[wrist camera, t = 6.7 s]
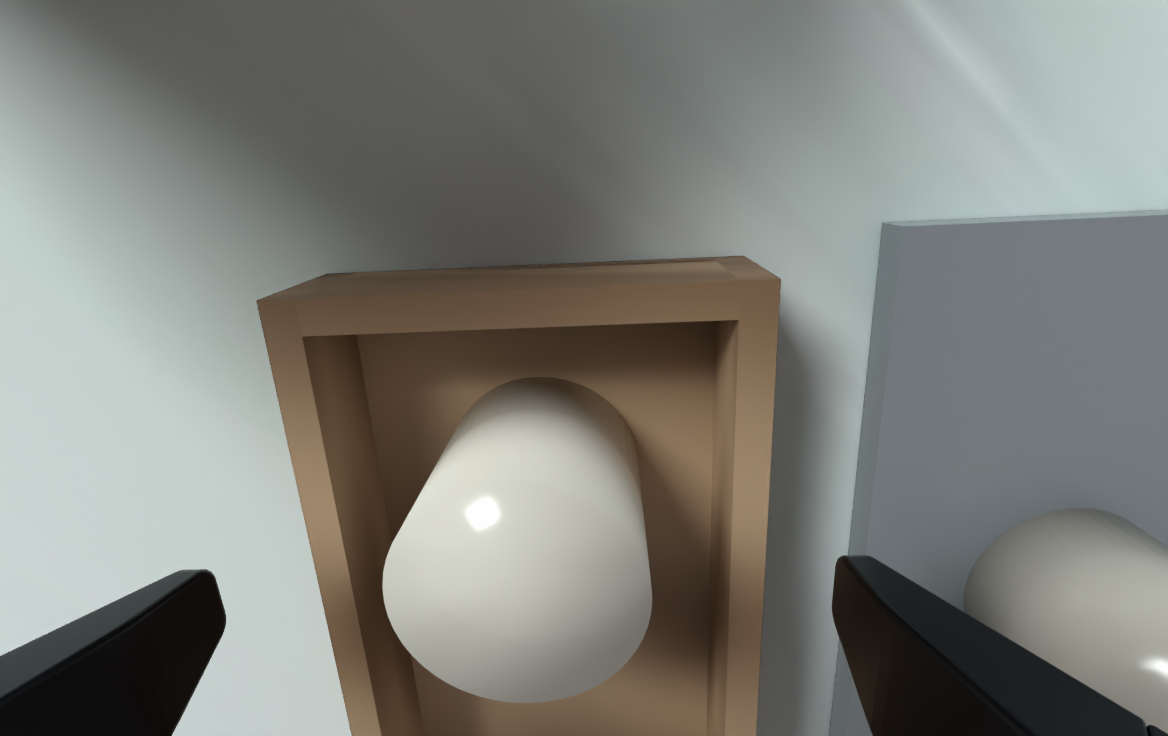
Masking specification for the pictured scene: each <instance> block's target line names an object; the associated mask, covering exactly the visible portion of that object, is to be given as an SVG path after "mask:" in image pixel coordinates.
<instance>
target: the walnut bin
mask: <svg viewBox="0 0 1168 736" xmlns="http://www.w3.org/2000/svg"><path fill="white" fill-rule="evenodd" d="M780 285H781V279H780V278H778V277H777V276H775V275H774V274H772V273H770V272H769V271H767V270H766V269H764V268H762V267H761V266H759V265H758V264H756V263H754V262H753V261H751V260H750V259H748V258H746V257H745V256H730V257H707V258H683V259H660V260H637V261H614V262H590V263H567V264H544V265H521V266H497V267H474V268H451V269H428V270H404V271H381V272H358V273H335V274H325V275H322V276H320V277H317V278H314V279H312V280H309V281H307V282H304V283H301V284H299V285H296V286H293V287H291V288H288V289H286V290H283V291H280V292H278V293H275V294H272V295H270V296H267V297H265V298H262V299H259V300H257V305H258V310H259V315H260V319H261V324H262V328H263V333H264V337H265V342H266V346H267V351H268V356H269V360H270V365H271V369H272V374H273V378H274V383H275V387H276V392H277V397H278V401H279V406H280V410H281V415H282V419H283V424H284V429H285V433H286V438H287V442H288V447H289V451H290V456H291V460H292V465H293V470H294V474H295V479H296V483H297V488H298V492H299V497H300V502H301V506H302V511H303V515H304V520H305V524H306V529H307V533H308V538H309V543H310V547H311V552H312V556H313V561H314V565H315V570H316V574H317V579H318V584H319V588H320V593H321V597H322V602H323V606H324V611H325V616H326V620H327V625H328V629H329V634H330V638H331V643H332V647H333V652H334V657H335V661H336V666H337V670H338V675H339V679H340V684H341V689H342V693H343V698H344V702H345V707H346V711H347V716H348V720H349V725H350V730H351V734H352V736H756V728H757V709H758V691H759V672H760V654H761V636H762V617H763V599H764V580H765V562H766V543H767V525H768V506H769V488H770V469H771V451H772V432H773V414H774V395H775V377H776V359H777V340H778V322H779V303H780ZM529 377H553V378H560V379H565V380H568V381H572V382H575V383H578V384H580V385H583V386H585V387H587V388H589V389H591V390H592V391H594V392H596V393H598V394H599V395H600V396H602V397H603V398H604V399H606V400H607V401H608V402H609V403H610V404H611V405H612V406H613V407H614V408H615V409H616V410H617V411H618V412H619V414H620V415H621V416H622V417H623V419H624V420H625V422H626V424H627V425H628V427H629V429H630V431H631V434H632V436H633V439H634V442H635V446H636V450H637V458H638V467H639V476H640V486H641V495H642V504H643V514H644V523H645V532H646V541H647V551H648V560H649V569H650V579H651V588H652V611H651V616H650V620H649V625H648V628H647V630H646V633H645V635H644V638H643V640H642V641H641V643H640V645H639V647H638V648H637V650H636V652H635V653H634V654H633V655H632V657H631V658H630V659H629V660H628V662H627V663H626V664H625V665H624V666H623V667H622V668H621V669H620V670H618V671H617V672H616V673H615V674H614V675H612V676H611V677H610V678H608V679H607V680H605V681H604V682H602V683H601V684H599V685H597V686H595V687H593V688H592V689H590V690H587V691H585V692H582V693H580V694H577V695H575V696H571V697H567V698H564V699H560V700H555V701H549V702H540V703H511V702H503V701H496V700H492V699H487V698H483V697H479V696H476V695H474V694H471V693H468V692H465V691H463V690H460V689H458V688H456V687H454V686H452V685H450V684H448V683H446V682H445V681H443V680H441V679H440V678H438V677H437V676H435V675H434V674H432V673H431V672H430V671H428V670H427V669H426V668H425V667H423V666H422V665H421V664H420V663H419V662H418V661H417V660H416V659H415V658H414V657H413V656H412V655H411V654H410V653H409V651H408V650H407V649H406V648H405V646H404V645H403V644H402V643H401V641H400V639H399V638H398V636H397V634H396V633H395V631H394V629H393V627H392V625H391V622H390V620H389V618H388V615H387V611H386V607H385V604H384V597H383V588H382V586H383V571H384V566H385V561H386V558H387V555H388V552H389V550H390V547H391V545H392V543H393V541H394V539H395V537H396V536H397V534H398V532H399V530H400V528H401V527H402V525H403V523H404V521H405V519H406V518H407V516H408V514H409V512H410V511H411V509H412V507H413V505H414V503H415V502H416V500H417V498H418V496H419V494H420V493H421V491H422V489H423V487H424V485H425V484H426V482H427V480H428V478H429V477H430V475H431V473H432V471H433V469H434V468H435V466H436V464H437V462H438V460H439V459H440V457H441V455H442V453H443V451H444V450H445V448H446V446H447V444H448V443H449V441H450V439H451V437H452V435H453V434H454V432H455V430H456V428H457V426H458V425H459V423H460V421H461V419H462V418H463V416H464V414H465V413H466V412H467V411H468V409H469V408H470V407H471V406H472V405H473V404H474V403H475V402H476V401H477V400H478V399H479V398H480V397H482V396H483V395H484V394H486V393H487V392H488V391H490V390H492V389H494V388H496V387H498V386H499V385H502V384H505V383H507V382H510V381H513V380H517V379H522V378H529Z"/></svg>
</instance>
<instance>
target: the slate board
mask: <svg viewBox="0 0 1168 736" xmlns="http://www.w3.org/2000/svg"><path fill="white" fill-rule="evenodd" d="M1073 508H1089V509H1097V510H1103V511H1107V512H1110V513H1114V514H1116V515H1118V516H1121V517H1123V518H1125V519H1127V520H1128V521H1130V522H1131V523H1133V524H1134V525H1136V526H1137V527H1139V528H1140V529H1142V530H1143V531H1145V532H1146V533H1148V534H1149V535H1151V536H1152V537H1154V538H1155V539H1157V540H1158V541H1160V542H1161V543H1163V544H1164V545H1166V546H1167V547H1168V210H1150V211H1128V212H1106V213H1084V214H1061V215H1039V216H1017V217H995V218H972V219H950V220H928V221H906V222H883V223H882V232H881V241H880V251H879V261H878V270H877V280H876V289H875V299H874V309H873V318H872V328H871V338H870V347H869V357H868V367H867V376H866V386H865V396H864V405H863V415H862V425H861V434H860V444H859V453H858V463H857V473H856V482H855V492H854V502H853V511H852V521H851V531H850V540H849V550H848V555H869V556H871V557H873V558H875V559H877V560H878V561H880V562H882V563H883V564H885V565H887V566H888V567H890V568H892V569H893V570H895V571H897V572H898V573H900V574H902V575H903V576H905V577H907V578H908V579H910V580H912V581H913V582H915V583H917V584H918V585H920V586H922V587H923V588H925V589H927V590H928V591H930V592H932V593H933V594H935V595H937V596H938V597H940V598H942V599H943V600H945V601H947V602H948V603H950V604H952V605H953V606H955V607H957V608H958V609H960V610H962V611H963V612H964V606H963V597H964V589H965V585H966V582H967V579H968V576H969V574H970V572H971V570H972V568H973V566H974V565H975V563H976V561H977V560H978V558H979V557H980V556H981V555H982V553H983V552H984V551H985V550H986V549H987V548H988V547H989V546H990V545H991V544H992V543H993V542H994V541H995V540H996V539H997V538H999V537H1000V536H1001V535H1002V534H1004V533H1005V532H1007V531H1008V530H1010V529H1011V528H1013V527H1014V526H1016V525H1018V524H1020V523H1022V522H1024V521H1026V520H1028V519H1031V518H1033V517H1036V516H1038V515H1041V514H1045V513H1048V512H1052V511H1057V510H1063V509H1073ZM829 736H873V735H872V733H871V731H870V728H869V725H868V722H867V719H866V717H865V714H864V711H863V708H862V705H861V702H860V699H859V696H858V693H857V690H856V687H855V684H854V681H853V678H852V675H851V672H850V669H849V666H848V662H847V659H846V656H845V653H844V650H843V647H842V644H841V641H840V638H839V646H838V656H837V666H836V675H835V685H834V695H833V704H832V714H831V724H830V733H829Z"/></svg>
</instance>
